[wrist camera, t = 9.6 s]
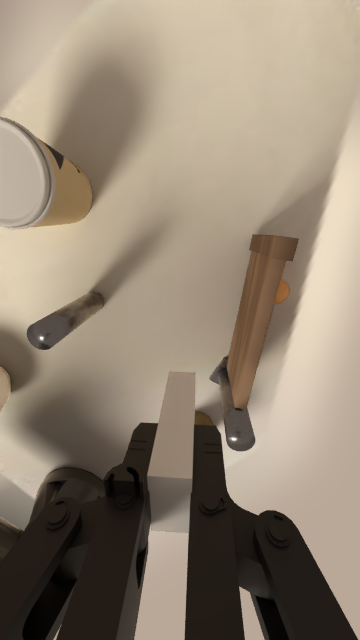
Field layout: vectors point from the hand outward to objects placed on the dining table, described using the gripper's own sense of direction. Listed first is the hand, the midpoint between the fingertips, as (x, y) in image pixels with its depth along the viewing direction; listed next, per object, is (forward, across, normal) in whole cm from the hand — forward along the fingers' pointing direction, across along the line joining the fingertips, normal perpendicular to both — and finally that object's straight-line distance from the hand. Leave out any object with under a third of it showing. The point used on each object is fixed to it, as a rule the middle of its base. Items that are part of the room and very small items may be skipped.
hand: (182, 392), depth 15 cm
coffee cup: (+24, -18, +14) cm, 33 cm away
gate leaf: (+23, +7, -2) cm, 24 cm away
